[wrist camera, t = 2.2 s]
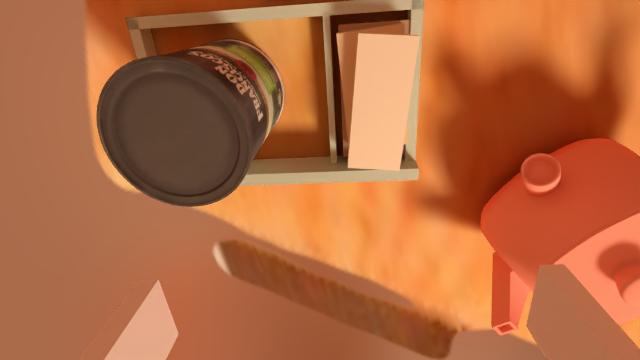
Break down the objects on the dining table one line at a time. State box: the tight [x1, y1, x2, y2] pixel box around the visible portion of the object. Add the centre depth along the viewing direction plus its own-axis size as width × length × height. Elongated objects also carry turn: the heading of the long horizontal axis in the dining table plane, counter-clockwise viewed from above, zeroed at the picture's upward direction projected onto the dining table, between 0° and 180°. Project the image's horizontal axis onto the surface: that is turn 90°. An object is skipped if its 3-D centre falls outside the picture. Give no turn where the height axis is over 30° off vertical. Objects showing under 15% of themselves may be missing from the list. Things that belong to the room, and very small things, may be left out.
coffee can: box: [97, 39, 285, 207], centre depth 29 cm, size 10×10×14 cm
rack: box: [126, 0, 424, 186], centre depth 33 cm, size 16×26×5 cm, turn 94°
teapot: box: [480, 138, 640, 335], centre depth 32 cm, size 18×18×14 cm
